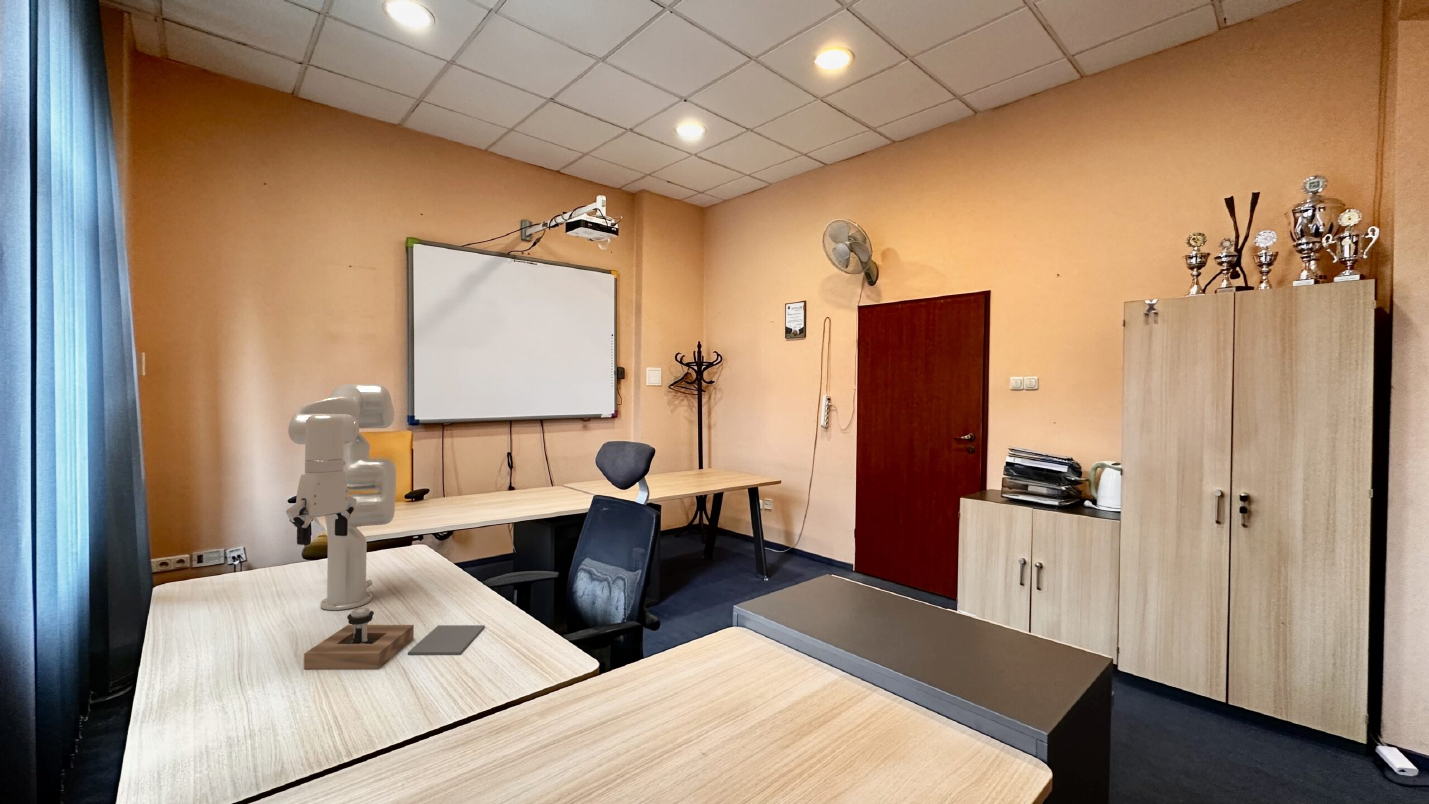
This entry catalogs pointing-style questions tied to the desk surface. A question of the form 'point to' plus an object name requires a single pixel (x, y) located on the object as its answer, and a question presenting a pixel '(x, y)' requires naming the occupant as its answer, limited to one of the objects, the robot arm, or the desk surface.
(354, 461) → the robot arm
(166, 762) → the desk surface
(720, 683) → the desk surface
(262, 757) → the desk surface
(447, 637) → the pad
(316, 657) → the holder
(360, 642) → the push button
